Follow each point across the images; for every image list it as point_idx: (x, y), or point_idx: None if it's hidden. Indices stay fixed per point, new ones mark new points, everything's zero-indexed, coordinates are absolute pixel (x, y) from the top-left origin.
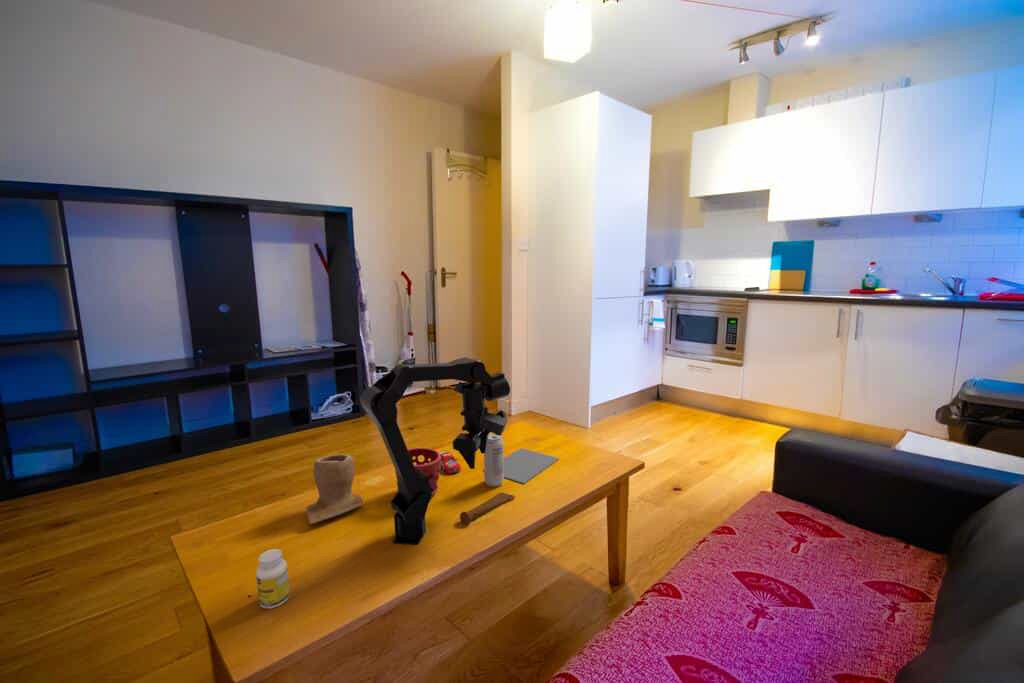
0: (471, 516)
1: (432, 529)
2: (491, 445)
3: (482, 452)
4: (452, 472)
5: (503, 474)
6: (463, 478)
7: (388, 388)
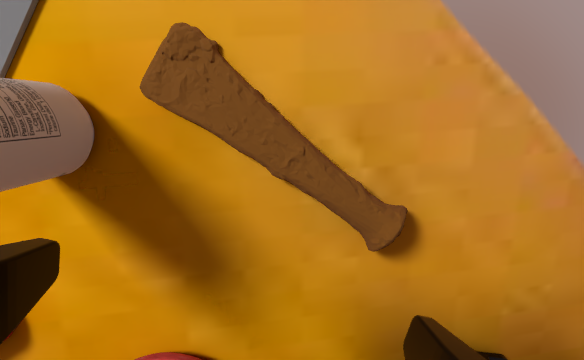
0: (387, 205)
1: None
2: None
3: (53, 267)
4: None
5: (20, 80)
6: None
7: None
